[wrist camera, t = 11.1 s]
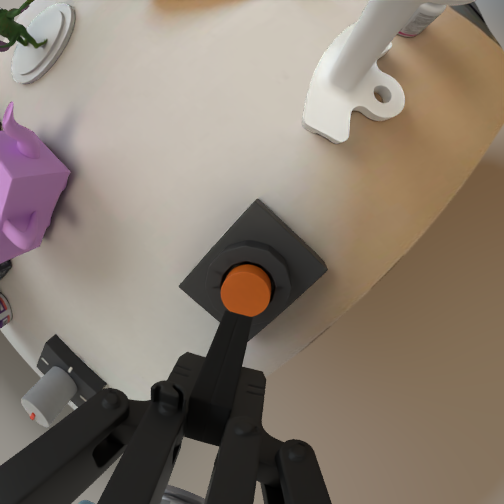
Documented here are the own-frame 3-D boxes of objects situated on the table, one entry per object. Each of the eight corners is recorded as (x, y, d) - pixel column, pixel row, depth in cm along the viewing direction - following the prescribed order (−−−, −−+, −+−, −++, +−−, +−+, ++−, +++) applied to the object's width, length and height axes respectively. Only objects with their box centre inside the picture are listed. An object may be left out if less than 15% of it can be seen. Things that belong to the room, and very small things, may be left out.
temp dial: (55, 360, 30) (21, 394, 22) (81, 386, 30) (50, 423, 22) (48, 374, 31) (18, 406, 23) (72, 397, 32) (44, 432, 24)
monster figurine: (70, -10, 18) (24, -35, 8) (81, 40, 20) (21, 14, 10) (13, 46, 20) (-34, 35, 10) (19, 101, 23) (-39, 97, 13)
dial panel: (107, 381, 32) (99, 393, 30) (88, 402, 35) (81, 413, 32) (56, 331, 31) (45, 341, 29) (44, 359, 34) (35, 368, 31)
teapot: (87, 251, 27) (15, 288, 17) (20, 250, 28) (-39, 276, 18) (79, 110, 23) (2, 99, 12) (12, 137, 24) (-51, 140, 14)
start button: (249, 314, 23) (247, 325, 21) (215, 286, 22) (210, 295, 21) (281, 285, 22) (280, 295, 20) (246, 254, 21) (242, 261, 20)
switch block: (248, 331, 27) (243, 355, 24) (185, 277, 26) (170, 295, 23) (324, 261, 25) (331, 278, 21) (257, 198, 24) (252, 203, 20)
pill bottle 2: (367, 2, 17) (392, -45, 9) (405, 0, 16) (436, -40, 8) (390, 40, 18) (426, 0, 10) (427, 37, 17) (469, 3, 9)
